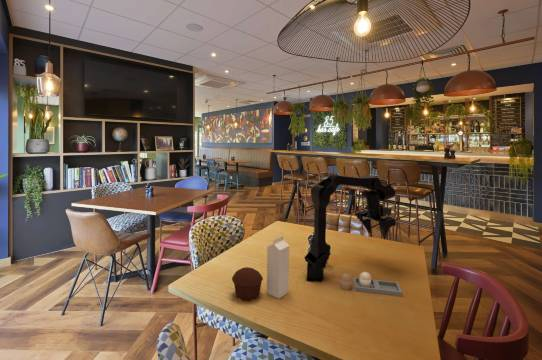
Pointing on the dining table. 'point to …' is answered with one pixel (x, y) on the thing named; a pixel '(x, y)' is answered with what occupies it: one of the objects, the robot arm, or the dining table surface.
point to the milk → (278, 268)
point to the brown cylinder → (345, 281)
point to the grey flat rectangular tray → (379, 287)
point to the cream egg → (365, 280)
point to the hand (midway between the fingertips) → (377, 235)
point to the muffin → (247, 283)
